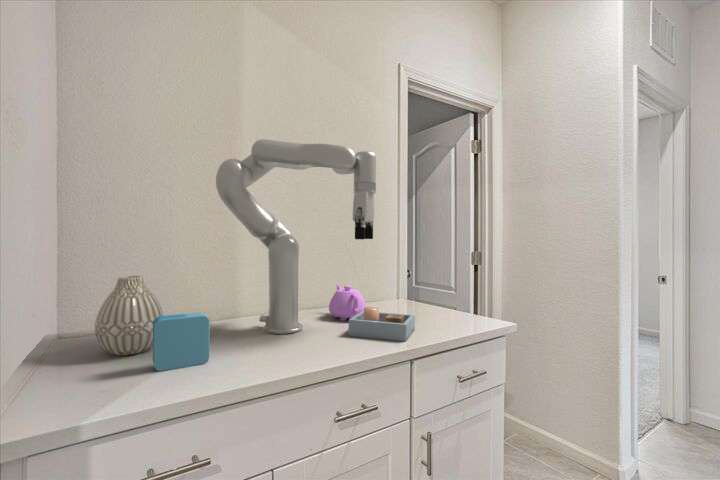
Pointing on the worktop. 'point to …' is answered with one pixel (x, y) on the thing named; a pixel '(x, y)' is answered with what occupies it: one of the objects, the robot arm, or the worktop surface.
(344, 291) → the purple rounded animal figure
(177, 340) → the data package
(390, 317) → the wood cube
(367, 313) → the terracotta canister
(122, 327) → the vase
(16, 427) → the worktop surface
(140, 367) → the worktop surface
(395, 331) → the tote
